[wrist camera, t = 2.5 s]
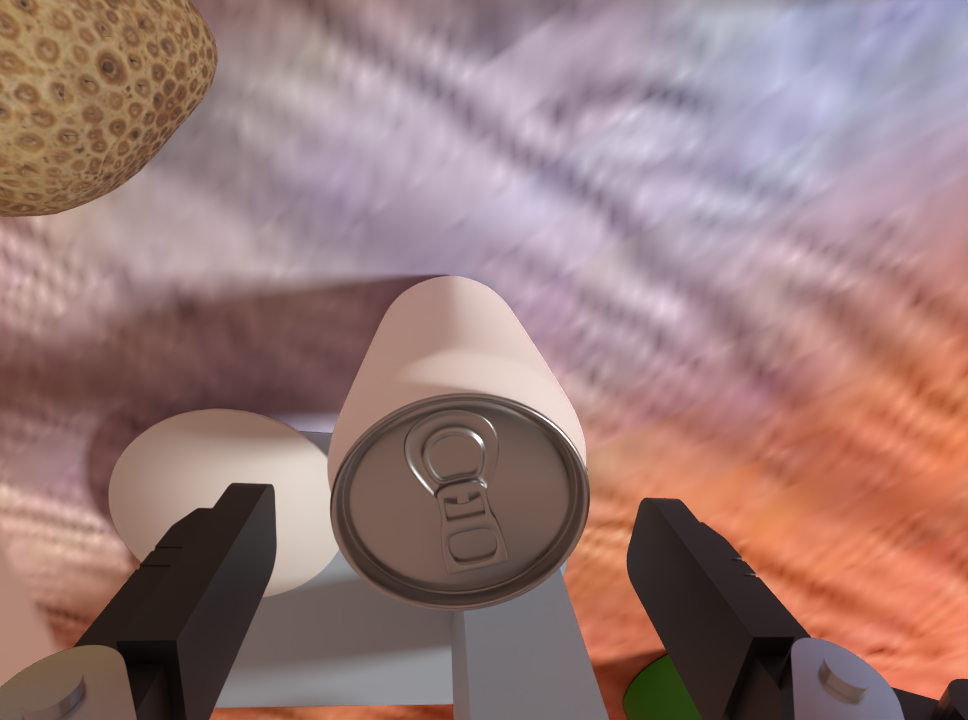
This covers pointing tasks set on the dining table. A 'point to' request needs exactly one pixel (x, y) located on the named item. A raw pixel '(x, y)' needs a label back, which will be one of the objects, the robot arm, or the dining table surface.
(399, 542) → the can
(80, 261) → the dining table surface
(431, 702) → the press
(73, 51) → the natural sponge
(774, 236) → the dining table surface
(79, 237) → the dining table surface
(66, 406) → the dining table surface
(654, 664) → the motor
